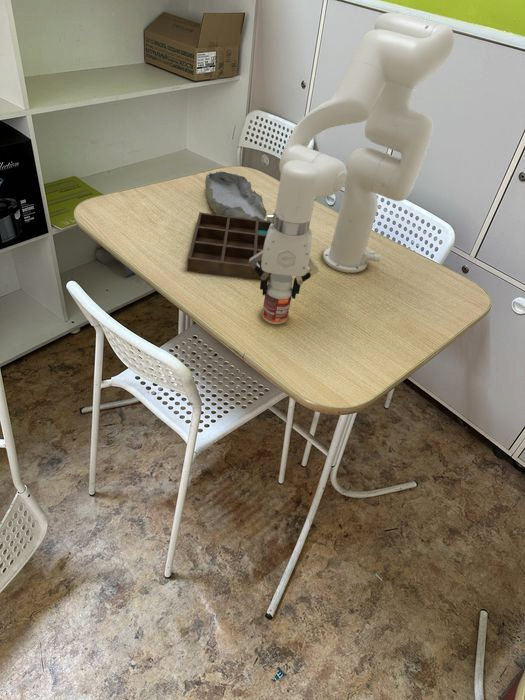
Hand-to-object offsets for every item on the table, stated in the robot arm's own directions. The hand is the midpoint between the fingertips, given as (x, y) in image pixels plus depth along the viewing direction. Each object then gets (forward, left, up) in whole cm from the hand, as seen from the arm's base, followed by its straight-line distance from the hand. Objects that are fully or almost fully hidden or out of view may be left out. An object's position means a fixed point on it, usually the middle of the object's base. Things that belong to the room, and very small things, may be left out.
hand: (278, 293), depth 120 cm
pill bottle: (0, 0, -7) cm, 7 cm away
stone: (+15, -54, -7) cm, 57 cm away
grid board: (+10, -28, -7) cm, 31 cm away
